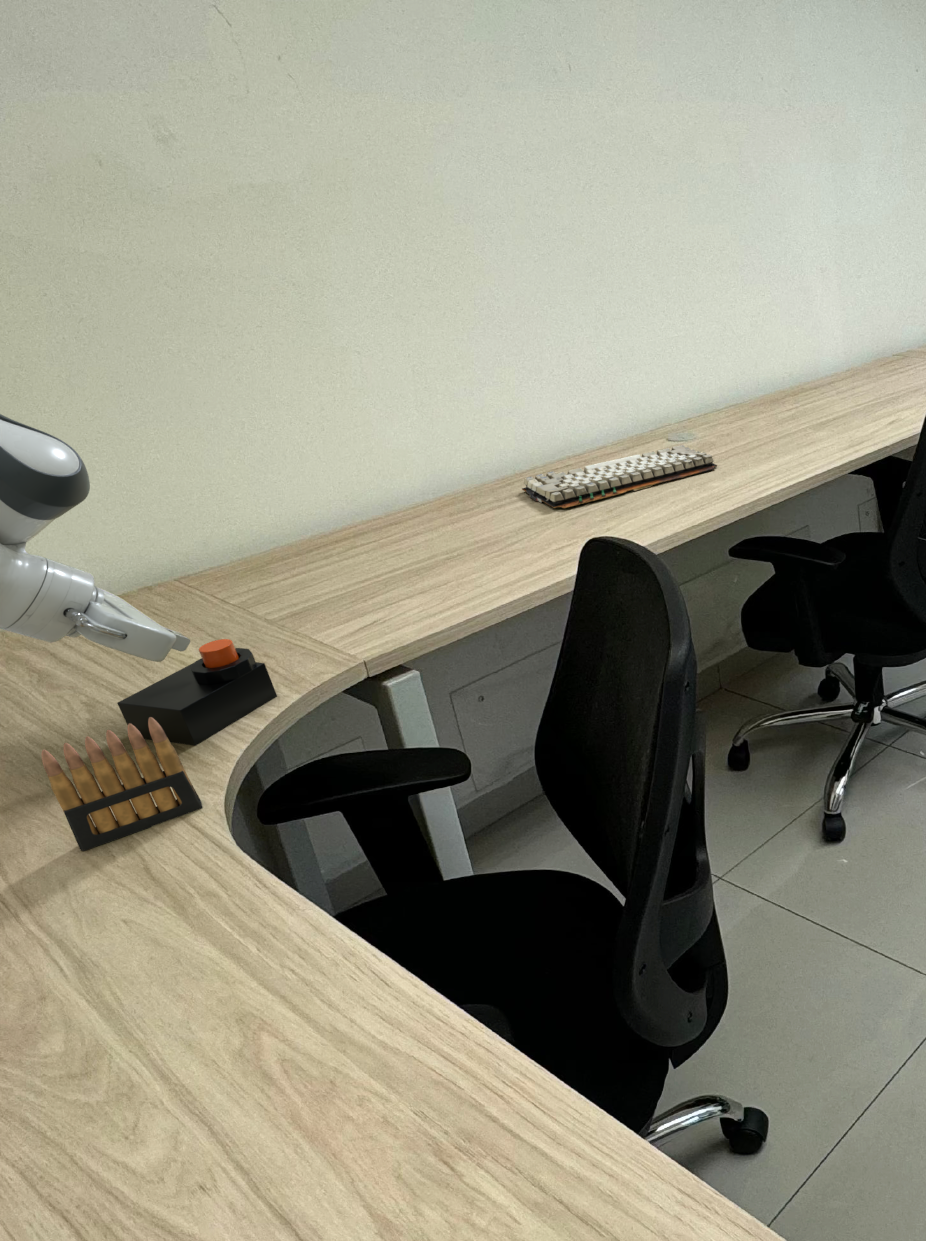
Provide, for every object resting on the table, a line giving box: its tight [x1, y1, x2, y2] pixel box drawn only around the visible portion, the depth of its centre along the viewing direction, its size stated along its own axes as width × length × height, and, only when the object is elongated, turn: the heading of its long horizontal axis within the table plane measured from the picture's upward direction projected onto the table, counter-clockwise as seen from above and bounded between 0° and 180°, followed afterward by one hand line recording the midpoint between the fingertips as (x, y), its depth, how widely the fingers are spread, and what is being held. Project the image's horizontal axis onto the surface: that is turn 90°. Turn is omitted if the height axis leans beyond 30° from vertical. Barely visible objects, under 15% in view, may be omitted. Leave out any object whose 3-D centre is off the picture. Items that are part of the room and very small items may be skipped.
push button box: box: [116, 647, 278, 747], centre depth 127 cm, size 10×12×7 cm
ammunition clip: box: [41, 717, 203, 852], centre depth 105 cm, size 11×2×12 cm, turn 131°
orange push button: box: [198, 638, 239, 668], centre depth 127 cm, size 4×4×3 cm
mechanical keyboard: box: [521, 444, 718, 509], centre depth 212 cm, size 38×19×3 cm, turn 133°
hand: (183, 643), depth 124 cm, fingers closed
